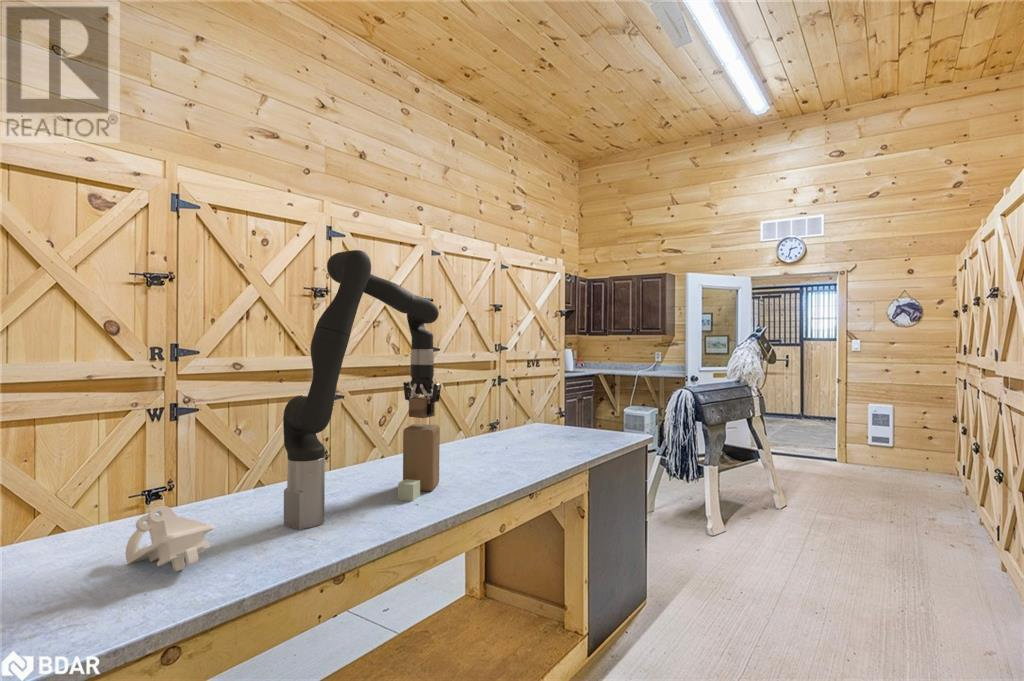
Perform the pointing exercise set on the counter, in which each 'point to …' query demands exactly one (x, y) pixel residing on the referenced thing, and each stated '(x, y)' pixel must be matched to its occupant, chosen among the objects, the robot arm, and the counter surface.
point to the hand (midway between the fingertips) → (421, 414)
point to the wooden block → (421, 455)
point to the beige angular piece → (168, 539)
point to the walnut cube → (419, 407)
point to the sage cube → (409, 490)
